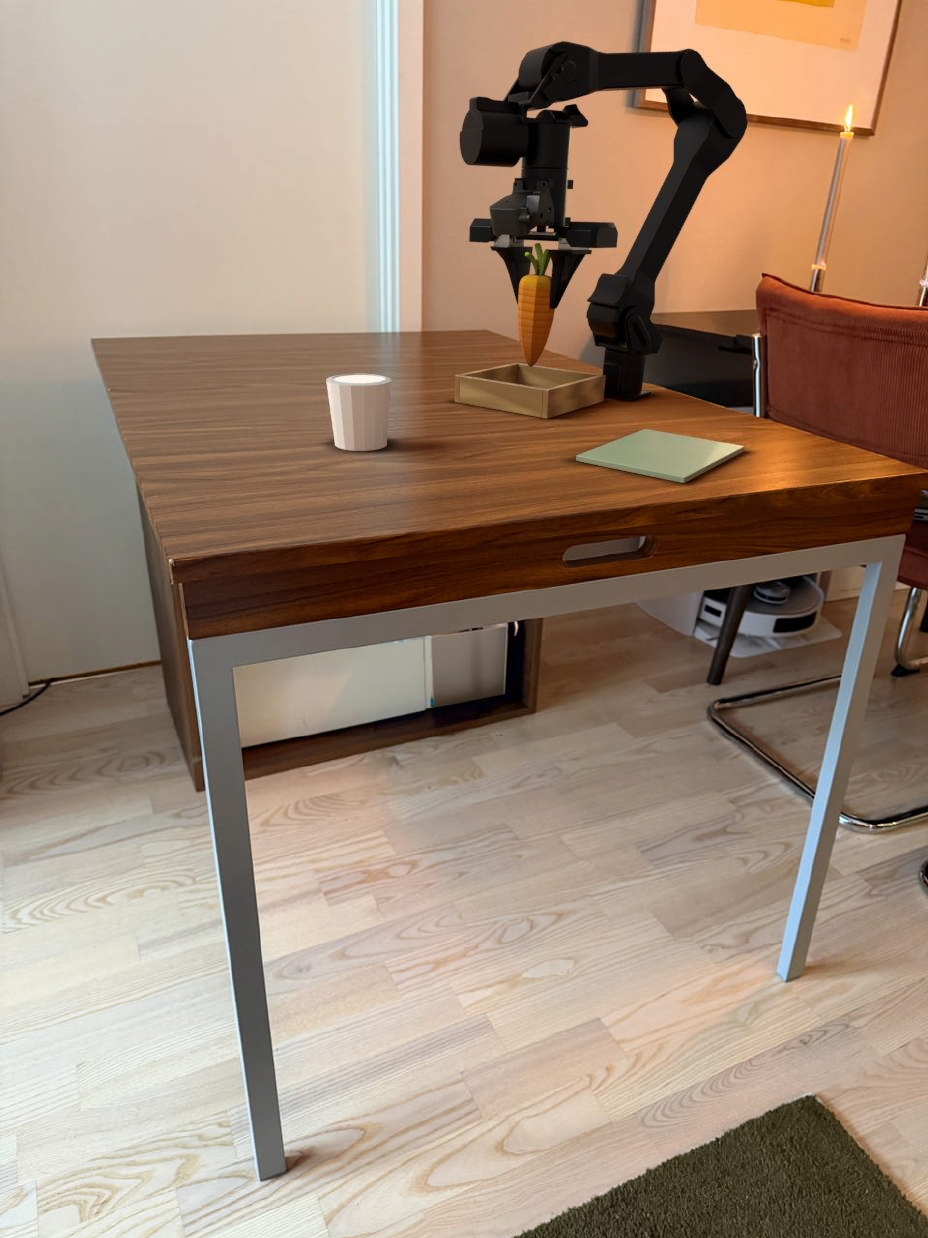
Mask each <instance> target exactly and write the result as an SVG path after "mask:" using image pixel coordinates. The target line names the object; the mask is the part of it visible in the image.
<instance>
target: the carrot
mask: <svg viewBox="0 0 928 1238" xmlns="http://www.w3.org/2000/svg"><path fill="white" fill-rule="evenodd" d="M534 249H535V254H536V257H535V256H534V254H533V253H532V254H531V253H530V252H526V253H525V256H526V257H527V258H529V259H530V261H531V265H532V267H533V269H534V273H530V274H529V275H526V276H524V277H523V278H522V279H521V280H520V284H519V296H518V305H517V329H518V338H519V344H520V347H521V352H522V354H523V358H524V360H525V364H528V365H529V367H532V366H533V365H536V364H537V363H538V360H539V359H540V357H541V355H542V354H543V352H544V350H545V347H546V345H547V344H548V340H549V337H550V334H551V331H552V330H551V329H552V326H553V323H554V317H555V312H556V309H551V308H550V289H551V277H552V276H550V275H547V274H546V272H547V269H548V267H549V264H550V261H551V257H550V254H549V251H548V250H550V249H549V248H546V249H545V250H544V251H543V248H542V244H541V243H540V242H536V243H535V244H534Z"/></svg>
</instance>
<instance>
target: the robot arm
mask: <svg viewBox="0 0 928 1238" xmlns="http://www.w3.org/2000/svg"><path fill="white" fill-rule="evenodd" d="M517 75H518V76H517V77H516V79H515V81H514V82H513V84H512V86H511V87H510V88H509V90H508V92H507V94H506V95H505V97H504V98H503V100H499V99H498V100H497V99H492V98H490V97H486V96H478V95H477V96H473V97H470V99H469V100H468V111H467V112H466V114H465V116H464V118H463V122H462V126H461V130H460V132H459V151H460V155H461V158H462V160H463V163H465V165H468V166H475V167H476V166H478V167H497V168H514V167H515V166H516V165H517V164H518V163H519V161H520V159H521V167H520V177H514V181H513V183H512V191H511V194H508V195H506V196H504V197H502V198H501V199H499V200H497V201H496V202H494V203H493V204H491V205H490V206H489V208H488V209H489V215H490V218H487V217H485V218H483V217H481V218H477V217H474V218H473V220H472V222H471V223H470V226H469V227H468V242H469V243H484V244H487V243H488V244H489V243H493V245H490V246H489V248H490V250H491V251H492V252H496V253H497V254H498V256H500V258H501V259H502V260H503V262H504V265H505V267H506V270H507V272H508V276H509V280H510V284H511V286H512V290H513V294H514V298H515V301H516V305H517V306H518V296H519V284H520V280H521V279H522V278H523V277H524V276H526V275H530V274H531V273H530V272H531V265H532V263H531V261H530V259H529V258H527V257H526V256H525V253H526V252H530V253H531V254H532V255H533V251H534V246H529V245H525V241H536V242H537V241H539V242H542V241H543V242H557V243H558V244H557V248H556V249H555V248H554V249H553V248H552V249H550V250H548V251H549V254H550V257H551V258H550V261H551V263H552V264H551V265H552V267H551V276H550V277H551V289H550V308H551V309H555V310H556V309H557V308H558V307H559V305H560V303H561V301H562V299H563V297H564V294H565V293H566V290H567V288H568V286H569V284H570V282H571V280H572V278H573V276H574V275H575V273H576V271H577V270H578V268H579V266H580V264H581V263H582V262H583V260H584V258H585V256H586V255H592V252H593V250H592V249H616V248H618V236H619V232H618V231H619V230H618V229H617V227H616V225H615V223H614V222H613V221H612V222H611V221H574V220H573V221H571V220H572V219H571V218H572V217H571V216H566V213H567V200H568V199H567V198H568V190H574V182H575V181H574V179H569V170H570V155H571V140H572V130H573V129H580V128H587V127H588V126H589V120H588V119H587V118H586V116H585V115H584V114H583V113H582V112H581V111H580V109H579V107H578V104H577V103H571V104H566V105H564V107H563V108H562V109H561V110H560V109H559V110H558V109H548V108H550V106H552V105H553V104H557V103H563V102H568V101H571V100H575V99H578V98H581V97H586V96H588V95H591V94H594V93H598V92H617V91H618V92H619V91H637V90H638V91H639V90H657V89H658V90H661V91H662V93H663V94H664V96H665V101H666V105H667V111H668V115H669V117H670V118H671V120H672V121H673V122H674V124H675V126H676V127H677V129H676V132H675V135H674V137H673V161H672V164H671V167H670V169H669V171H668V173H667V174H666V177H665V179H664V180H663V183H662V185H661V187H660V189H659V191H658V193H657V195H656V198H655V199H654V201H653V203H652V206H651V207H650V210H649V211H648V214H647V215H646V218H645V219H644V222H643V224H642V226H641V228H640V230H639V232H638V233H637V236H636V238H635V239H634V242H633V244H632V245H631V248H630V250H629V252H628V253H627V254H628V255H627V256H626V258H625V260H624V262H623V264H622V266H620V268H619V269H618V270H617V271H616V272H614V274H613V273H606V272H603V273H601V275H600V276H599V278H598V279H597V281H596V285H595V288H594V290H593V292H592V293H591V295H590V296H589V297H588V298H587V299H586V302H587V303H589V304H588V307H587V310H586V314H585V315H586V316H585V318H586V320H587V324H588V327H589V330H590V331H591V332H592V338H593V341H594V346H595V347H598V348H600V347H601V348H604V356H603V365H602V374H601V375H606V379H605V389H604V397H607V398H614V399H621V400H626V401H634V400H637V399H640V398H644V397H647V396H649V395H651V394H652V390H649V389H644V388H643V384H644V377H645V368H646V367H645V366H646V359H647V356H649V355H653V354H654V355H655V354H658V353H659V350H660V348H661V345H662V343H663V341H664V340H663V339H664V337H663V336H662V334H661V333H660V332H659V330H658V329H657V327H656V325H655V324H654V323H653V321H652V319H651V317H652V313H653V311H654V308H655V305H656V282H657V280H658V277H659V275H660V273H661V271H662V269H663V267H664V265H665V263H666V261H667V259H668V257H669V255H670V254H671V251H672V249H673V247H674V245H675V243H676V241H677V239H678V237H679V235H680V234H681V231H682V229H683V227H684V225H685V223H686V221H687V219H688V217H689V215H690V214H691V211H692V210H693V208H694V206H695V204H696V202H697V200H698V198H699V196H700V194H701V192H702V189H703V188H704V185H705V184H706V181H707V180H708V179H709V177H710V176H711V175H712V174H714V173H715V171H717V169H719V168H720V167H721V166H722V165H723V164H725V162H727V161H728V160H729V159H730V158H731V156H732V154H733V153H734V151H735V150H736V149H737V148H738V146H739V144H740V143H741V142H742V140H743V138H744V137H745V134H746V132H747V130H748V126H749V120H748V118H747V110H746V106H745V104H744V102H743V101H742V99H741V98H739V97H738V96H737V94H736V92H735V91H734V89H733V88H732V86H731V84H729V83H728V82H727V81H726V80H725V79H723V77H721V76H720V75H719V74H717V73H716V72H715V71H714V70H712V69H711V68H710V67H709V66H708V64H707V62H706V61H705V59H704V58H703V56H702V54H700V52H699V51H697V50H695V49H693V48H684V49H680V50H675V51H672V50H671V51H639V52H638V51H637V52H633V51H632V52H603V51H598V50H596V49H594V48H593V47H591V46H588V45H584V44H580V43H576V42H571V41H565V40H562V41H558V42H554V43H551V44H547V45H544V46H540V47H537V48H533V49H530V50H528V51H527V52H526V53H525V55H524V57H523V58H522V60H521V61H520V64H519V68H518V74H517ZM694 99H695V100H694ZM539 110H540V111H539ZM533 111H539V112H538V113H537V115H536V116H535V117H529V116H528V112H533ZM535 228H536V230H534V229H535ZM547 229H549V230H553V231H547Z"/></svg>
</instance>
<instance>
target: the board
mask: <svg viewBox="0 0 928 1238" xmlns="http://www.w3.org/2000/svg"><path fill="white" fill-rule="evenodd" d="M743 452H745V446H744V445H739V444H734V443H729V442H728V443H727V442H723V441H716V440H711V439H705V438H701V437H696V436H695V437H694V436H689V435H683V434H677V433H672V432H665V431H660V430H655V429H648V428H643V429H641V430H639V431H636V432H632V433H631V434H627V435H626V436H623V437H621V438H617V439H615V440H613V441H610V442H607V443H605V444H602V445H600V446H597V447H594V448H592V449H590V450H587V451H585V452H582V453H579V454H576V455H575V461H576V462H580V463H585V464H589V465H593V466H598V467H604V468H608V469H613V470H617V471H623V472H628V473H632V474H637V475H642V476H647V477H652V478H655V479H661V480H666V481H670V482H675V483H680V484H686V483H687V482H689V481H691V480H693V479H696V477H697V478H698V477H699V476H700V475H702V474H704V473H706V472H708V471H710V470H712V469H714V468H716V467H717V466H719V465H721V464H723V463H725V462H727V461H728V460H731V459H733V458H734V457H736V456H738V455H740V454H742V453H743Z"/></svg>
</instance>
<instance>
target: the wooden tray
mask: <svg viewBox="0 0 928 1238" xmlns="http://www.w3.org/2000/svg"><path fill="white" fill-rule="evenodd" d="M605 379H606V375H602V374H599V373H594V372H593V373H592V372H586V371H578V370H571V369H565V368H558V367H549V366H543V365H536V364H535V365H533V366H532V367H529V365H528V364H527V363H523V362H513V363H508V364H503V365H498V366H494V367H489V368H484V369H479V370H474V371H470V372H465V373H459V374H455V375H454V402H455V403H458V404H463V405H469V406H475V407H480V408H487V409H490V410H498V411H503V412H508V413H513V414H519V415H525V416H528V417H529V416H530V417H536V418H540V419H551V418H554V417H557V416H560V415H563V414H568V413H569V412H574V411H577V410H579V409H583V408H586V407H590V406H592V405H596V404H600V403H602V402H604V398H605V396H604V389H605Z"/></svg>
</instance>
